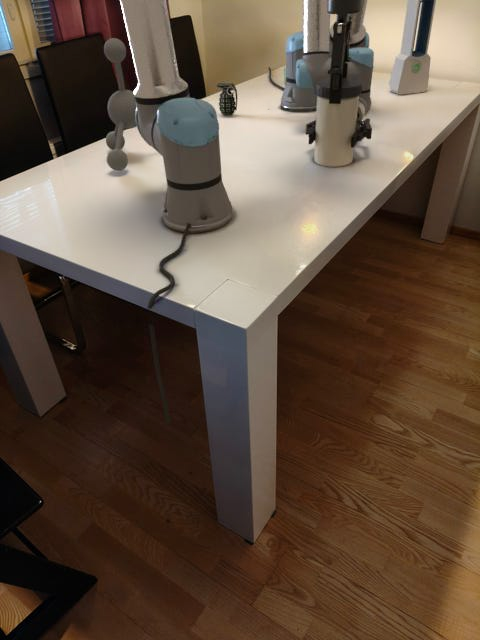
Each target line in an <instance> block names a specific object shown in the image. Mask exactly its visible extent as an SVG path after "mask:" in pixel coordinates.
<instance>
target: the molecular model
mask: <svg viewBox="0 0 480 640" xmlns="http://www.w3.org/2000/svg"><path fill="white" fill-rule="evenodd" d="M103 53H104V55H105V57H106V59H107V60H108V61H109V62H111V63H114V68H115V72H116V77H117V78H116V79H117V83H118V89H119V90H117V91H115V92H114V93H112V94H111V96H110V97H109V99H108V102H107V113H108V117H109V118H110V120H111V121H112V123H113V124H115V128H114V130H113V131H110V132H108V133H107V135H106V137H105V144H106V146H107V147H108V148H109V150H110V151H109V152H108V153H107V156H106V162H107V165H108V167H109V168H110V169H111V170H113V171H116V172H119V171H120V172H121V171H123V170H125V169H126V168H127V166H128V164H129V158H128V155H127V153H126V152H125V151H124V150H122V149H123V148H125V144H126V140H125V139H126V138H125V137H124V130H130V129H131V130H132V129H134V128H137V125H136V121H135V112H136V108H137V106H136V102H135V97H134V90H130V89H126V86H125V80H124V73H123V69H122V62H123V61H124V60H125V58H126V57H127V47H126V45H125V43H124V42H123V41H122V40H121V39H119V38H116V37H112V38H111V37H110V38H109V39H107V40H106V41H105V43H104V45H103Z"/></svg>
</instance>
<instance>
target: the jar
mask: <svg viewBox="0 0 480 640" xmlns="http://www.w3.org/2000/svg"><path fill="white" fill-rule="evenodd" d="M358 99H359V96H356V97H353V98H347V99H341V104H329V99H327V98H322V97H318V96H317V106H316V110H315V111H316V112H315V120H316V128H315V141H314V152H313V153H314V156H313V161H314V163H316V164H317V165H319V166H323V167H331V168H332V167H336V168H337V167H343V166H347V165H350V164H352V163H353V161H354V153H355V152H354V151H355V147H354V148H351V139H352V136H353V134H354V133H355V131H356V120H357V110H358Z"/></svg>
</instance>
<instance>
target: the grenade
mask: <svg viewBox="0 0 480 640" xmlns="http://www.w3.org/2000/svg"><path fill="white" fill-rule="evenodd" d="M215 87H217V88H219V89H221V93H219V97H218V101H219V102H218V106H219V108H218V109H219V112H220V114H221V115H222V116H224V117H231V116H233V115H234V113H235V112H236V111H237V108H238V89H237V87H236V85H235V84H234V83H233V82H218V83H217V84H216V86H215ZM232 91H233V92H232ZM234 94H235V96H234Z"/></svg>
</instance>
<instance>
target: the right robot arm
mask: <svg viewBox="0 0 480 640" xmlns="http://www.w3.org/2000/svg"><path fill="white" fill-rule="evenodd" d="M327 2H328V0H302V30H301V31H297V32H295V33H292V34H290V35H289V36H288V37H287V40H286V47H285V48H286V49H285V54H286V59H285V68H286V81H285V85H284V87H283V86H281V85H279V84H278V83H276V82H275V81H274V80H273V79H272V69H271V67H270V66H268V78H269V81H270V82H271V84H273V85H274V86H275V87H277V88H279V89H281V90H283V93H282V95H281V99H280V108H281V109H282V110H284V111H288V112H294V113H295V112H296V113H304V112H305V113H306V112H307V113H308V112H314V111H316V106H317V95H315V84H316V82H317V81H319V80H322V79H327V78H331V74H328V70H330V68H331V58H332V48H333V33H334V32H333V24H331V14H329V13H328V12H327ZM367 4H368V0H362V1H361V10H360V12H358V13H354V14H350V15H351V17H352V18H351V21H352V29H351V36H350V44H349V58H351V62H346V63H348V69H347V78H353V79H358V80H360V81H362V92H361V94H360V95H359V99H358V110H357V120H356V131H355V133H354V134H353V136H352V139H351V148H354V149H355V147H356V145H357V143H358V142H362V141H363V140H364V139H365V138H366V139H367V140H371V139H372V134H373V127H372V125H371V119H370V118H365V117H366V116H367V115H368V114H369V111H370V110H371V107H372V98H371V88H372V80H373V79H372V78H373V72H374V63H375V62H374V61H375V52H374V50H373V49H371V48H370V34H369V33H368V32H367V29H366V26H364V21H365V15H366V11H367V10H366V9H367ZM335 22H337V16H336V17H335ZM315 128H316V119H315V120H313V121H310V122H308V123H306V125H305V134H306V135H307V136H308V145H312V144H314V143H315Z"/></svg>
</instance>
